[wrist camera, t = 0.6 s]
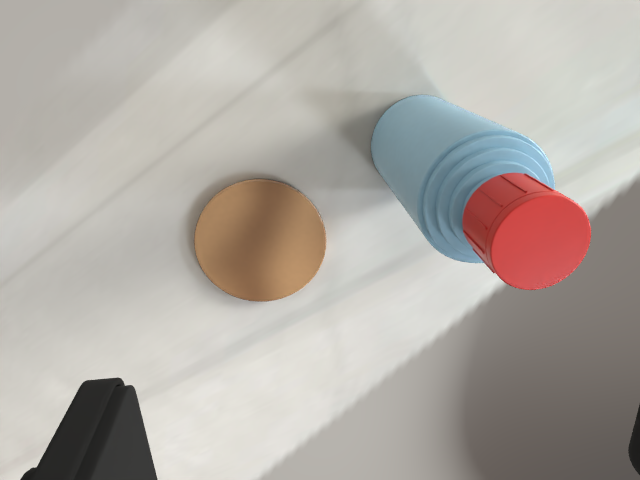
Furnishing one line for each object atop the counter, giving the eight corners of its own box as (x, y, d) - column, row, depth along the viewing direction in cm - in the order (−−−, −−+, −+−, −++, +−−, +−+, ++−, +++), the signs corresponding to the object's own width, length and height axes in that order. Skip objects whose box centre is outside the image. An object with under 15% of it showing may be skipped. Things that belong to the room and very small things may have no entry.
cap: (556, 170, 22) (600, 192, 19) (542, 253, 24) (581, 286, 21) (465, 174, 22) (496, 198, 19) (458, 259, 24) (485, 293, 21)
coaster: (323, 175, 37) (324, 177, 37) (327, 293, 41) (327, 297, 41) (186, 182, 37) (185, 184, 36) (203, 302, 41) (202, 305, 40)
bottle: (468, 92, 36) (634, 149, 19) (460, 187, 39) (600, 307, 22) (371, 96, 35) (456, 158, 19) (370, 192, 38) (444, 318, 22)
